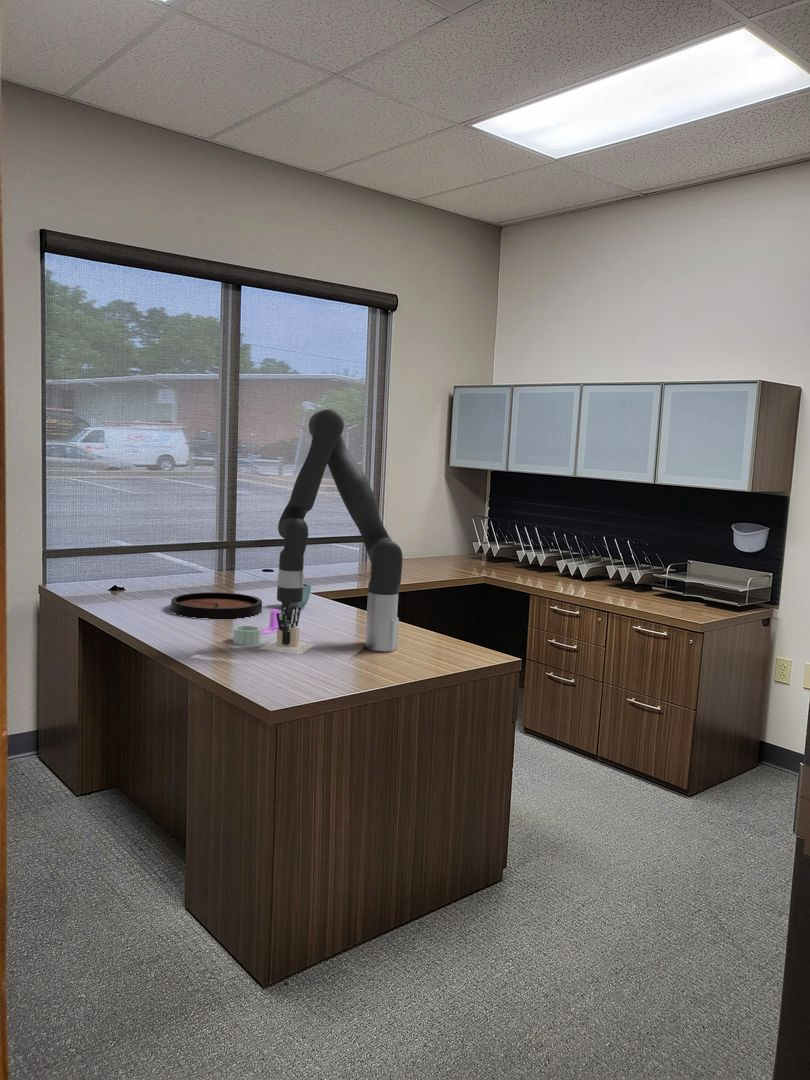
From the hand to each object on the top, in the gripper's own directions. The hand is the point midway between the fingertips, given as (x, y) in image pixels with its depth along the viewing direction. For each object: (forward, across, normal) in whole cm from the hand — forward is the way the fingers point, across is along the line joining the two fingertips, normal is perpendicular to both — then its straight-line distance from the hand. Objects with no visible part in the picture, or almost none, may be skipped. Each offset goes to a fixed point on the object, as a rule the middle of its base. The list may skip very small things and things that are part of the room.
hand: (287, 642), depth 249 cm
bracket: (+2, +18, +13) cm, 22 cm away
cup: (+2, 0, +13) cm, 13 cm away
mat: (+2, 0, 0) cm, 2 cm away
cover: (+1, 0, 0) cm, 1 cm away
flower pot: (+2, +60, +22) cm, 64 cm away
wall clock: (+3, +42, +44) cm, 61 cm away
